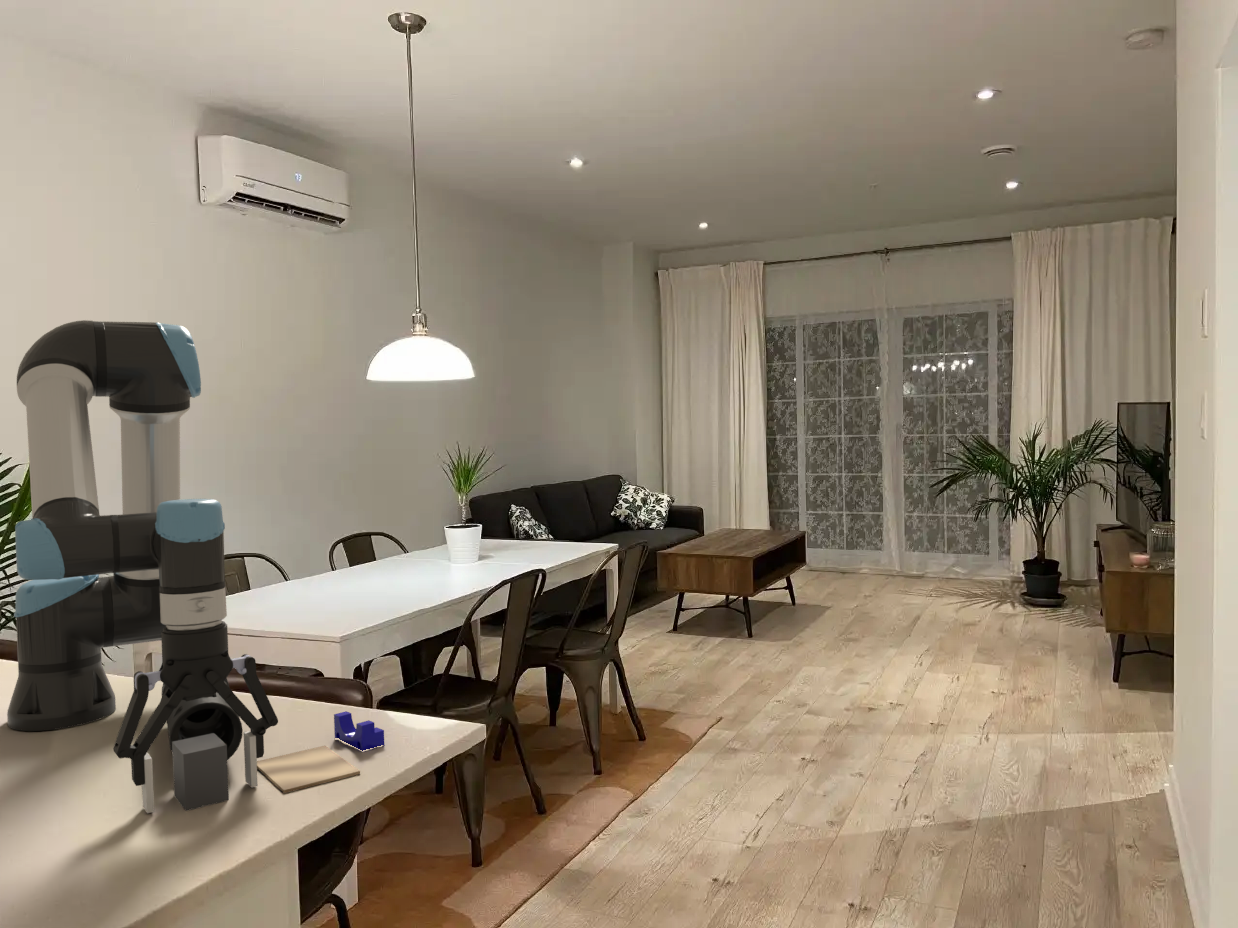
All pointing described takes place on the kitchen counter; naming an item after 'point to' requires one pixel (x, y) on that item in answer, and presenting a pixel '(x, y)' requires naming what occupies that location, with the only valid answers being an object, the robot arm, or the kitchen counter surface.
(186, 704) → the muzzle brake
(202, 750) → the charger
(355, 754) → the kitchen counter surface
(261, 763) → the mat
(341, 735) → the cable holder
